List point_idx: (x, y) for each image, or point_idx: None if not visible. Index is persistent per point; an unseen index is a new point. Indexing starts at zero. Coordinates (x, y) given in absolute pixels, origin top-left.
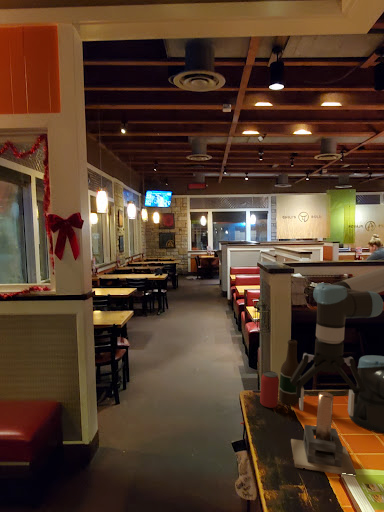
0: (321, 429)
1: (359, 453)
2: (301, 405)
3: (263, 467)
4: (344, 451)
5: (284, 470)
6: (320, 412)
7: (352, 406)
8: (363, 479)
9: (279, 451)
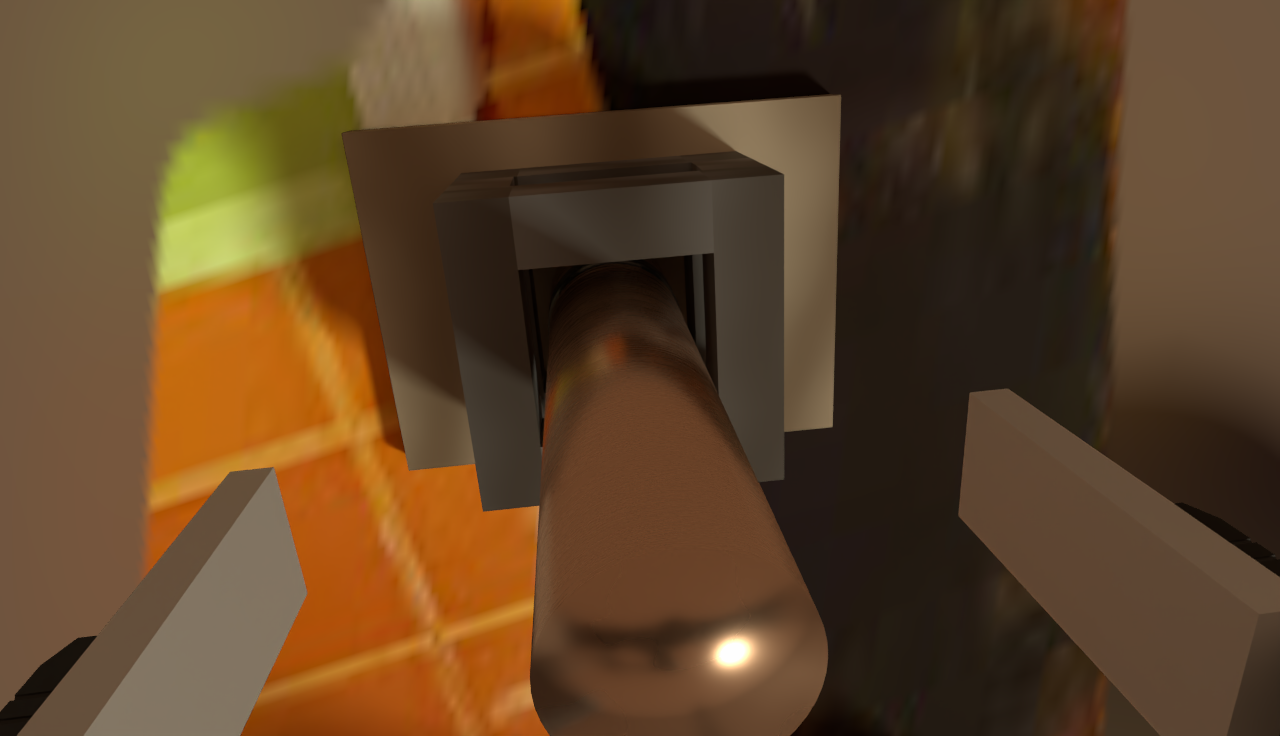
0: (661, 321)
1: (304, 447)
2: (1041, 421)
3: (1087, 7)
4: (419, 401)
5: (922, 23)
6: (719, 420)
7: (175, 565)
8: (292, 113)
9: (928, 265)
